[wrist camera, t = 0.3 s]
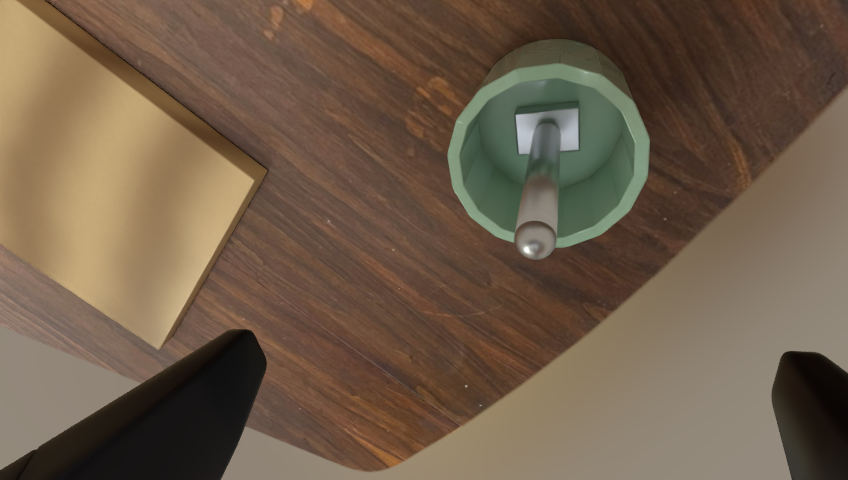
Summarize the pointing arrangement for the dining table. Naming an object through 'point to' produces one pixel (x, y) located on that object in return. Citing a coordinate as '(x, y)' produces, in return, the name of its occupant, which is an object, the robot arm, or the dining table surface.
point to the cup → (579, 170)
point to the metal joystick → (543, 172)
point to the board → (109, 175)
